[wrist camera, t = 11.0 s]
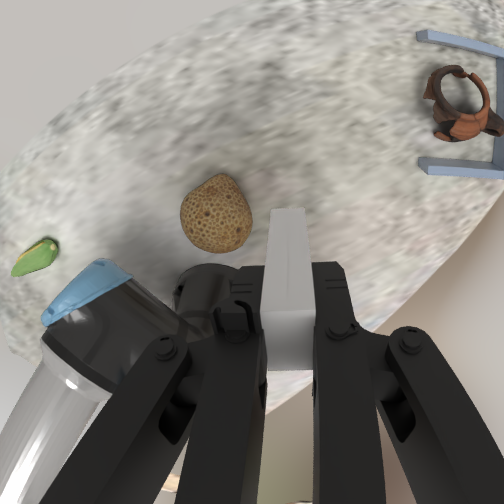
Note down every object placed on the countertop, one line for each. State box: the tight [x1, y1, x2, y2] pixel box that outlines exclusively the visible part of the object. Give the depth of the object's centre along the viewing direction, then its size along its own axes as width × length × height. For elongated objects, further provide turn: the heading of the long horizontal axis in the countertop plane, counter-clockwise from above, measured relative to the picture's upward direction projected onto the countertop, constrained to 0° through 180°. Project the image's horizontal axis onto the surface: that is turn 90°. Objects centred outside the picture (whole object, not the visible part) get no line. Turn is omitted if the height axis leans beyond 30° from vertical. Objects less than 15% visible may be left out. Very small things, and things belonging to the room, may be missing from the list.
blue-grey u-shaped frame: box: [416, 30, 504, 179], centre depth 28 cm, size 18×14×4 cm
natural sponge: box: [180, 174, 253, 253], centre depth 38 cm, size 9×9×10 cm
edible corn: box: [11, 240, 58, 277], centre depth 52 cm, size 5×20×5 cm
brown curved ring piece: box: [423, 65, 504, 142], centre depth 28 cm, size 12×10×8 cm
